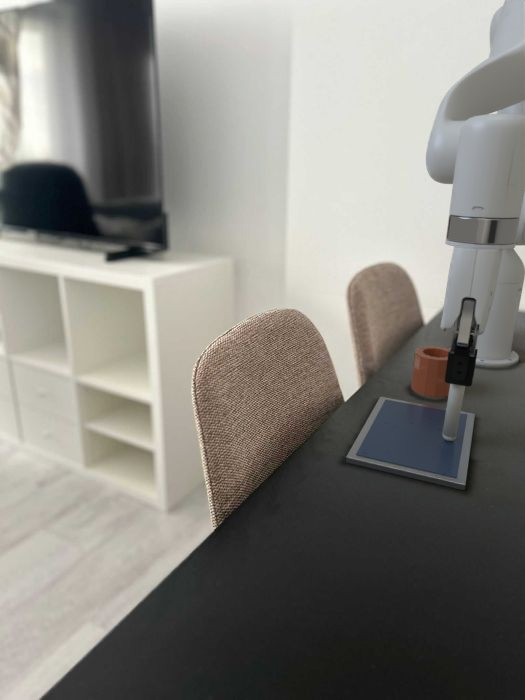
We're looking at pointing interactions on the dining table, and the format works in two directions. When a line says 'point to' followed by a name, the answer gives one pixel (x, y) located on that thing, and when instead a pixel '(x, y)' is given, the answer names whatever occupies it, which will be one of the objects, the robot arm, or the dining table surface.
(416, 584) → the dining table surface
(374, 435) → the tablet
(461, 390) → the stylus
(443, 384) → the holder
